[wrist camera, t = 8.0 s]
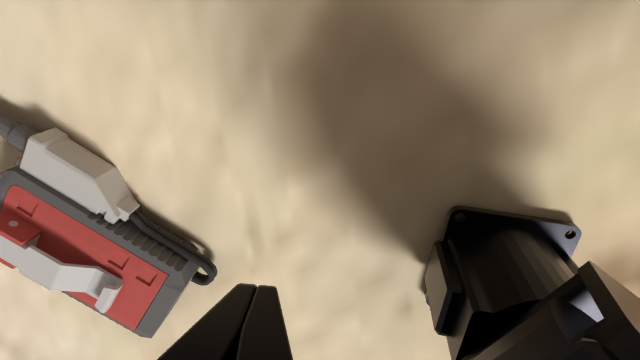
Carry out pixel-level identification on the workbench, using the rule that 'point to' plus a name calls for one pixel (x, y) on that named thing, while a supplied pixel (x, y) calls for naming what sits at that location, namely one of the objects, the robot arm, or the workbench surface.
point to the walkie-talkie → (89, 232)
